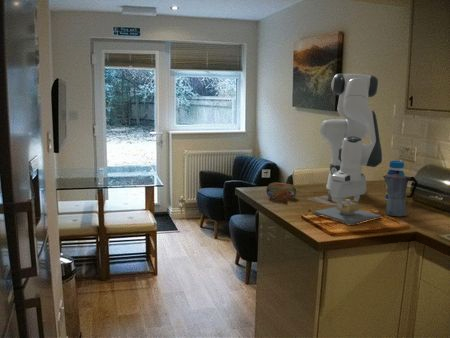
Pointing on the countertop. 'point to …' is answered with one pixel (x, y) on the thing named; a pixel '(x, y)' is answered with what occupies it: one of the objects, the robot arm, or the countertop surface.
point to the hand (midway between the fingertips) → (347, 206)
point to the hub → (347, 214)
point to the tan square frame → (349, 207)
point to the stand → (326, 199)
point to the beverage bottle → (394, 171)
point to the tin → (281, 191)
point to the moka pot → (398, 193)
